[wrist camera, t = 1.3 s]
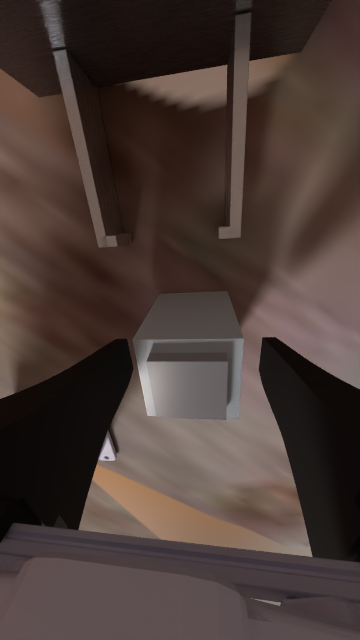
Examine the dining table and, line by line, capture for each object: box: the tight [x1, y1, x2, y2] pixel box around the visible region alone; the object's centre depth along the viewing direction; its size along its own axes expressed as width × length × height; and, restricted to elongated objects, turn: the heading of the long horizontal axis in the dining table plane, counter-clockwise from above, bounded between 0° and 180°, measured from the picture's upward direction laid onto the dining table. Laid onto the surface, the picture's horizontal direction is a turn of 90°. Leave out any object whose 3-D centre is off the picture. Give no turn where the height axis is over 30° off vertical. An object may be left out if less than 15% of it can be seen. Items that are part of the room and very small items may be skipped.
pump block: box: [132, 291, 244, 420], centre depth 12 cm, size 4×4×7 cm
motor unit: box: [0, 0, 331, 248], centre depth 7 cm, size 16×13×4 cm
